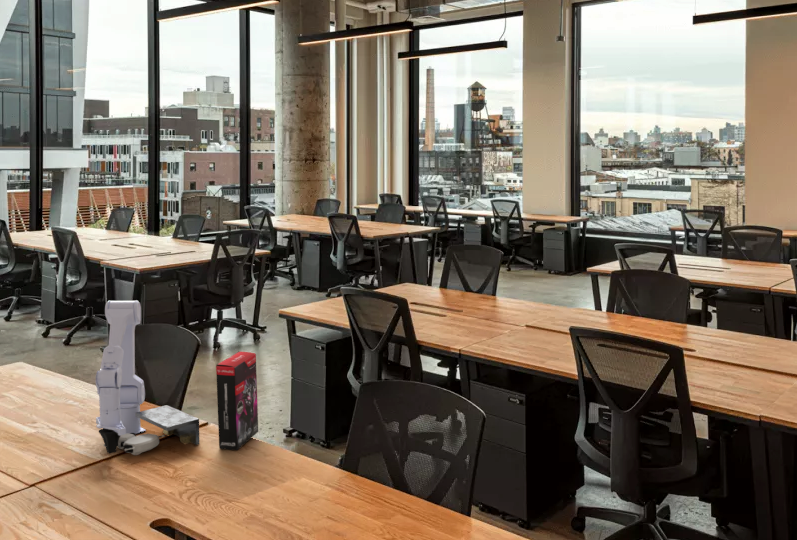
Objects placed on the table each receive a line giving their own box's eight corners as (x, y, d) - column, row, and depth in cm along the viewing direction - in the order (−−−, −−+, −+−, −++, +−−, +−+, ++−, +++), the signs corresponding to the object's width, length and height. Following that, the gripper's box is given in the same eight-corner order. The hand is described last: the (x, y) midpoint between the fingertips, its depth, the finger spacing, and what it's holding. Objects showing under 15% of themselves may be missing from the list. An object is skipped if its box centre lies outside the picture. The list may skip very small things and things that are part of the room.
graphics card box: (237, 452, 229) (236, 365, 226) (216, 450, 231) (215, 363, 227) (258, 432, 246) (258, 352, 242) (238, 431, 247) (238, 350, 244)
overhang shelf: (136, 437, 240) (135, 412, 239) (167, 429, 248) (166, 405, 247) (168, 453, 227) (167, 427, 226) (199, 443, 235) (199, 418, 234)
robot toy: (101, 454, 228) (136, 460, 221) (99, 440, 227) (135, 445, 220) (132, 441, 239) (167, 447, 231) (131, 428, 238) (166, 433, 231)
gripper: (85, 405, 224) (87, 449, 226) (108, 417, 214) (110, 462, 216) (108, 400, 229) (109, 443, 231) (131, 411, 219) (133, 455, 221)
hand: (111, 452), depth 224 cm, fingers closed
